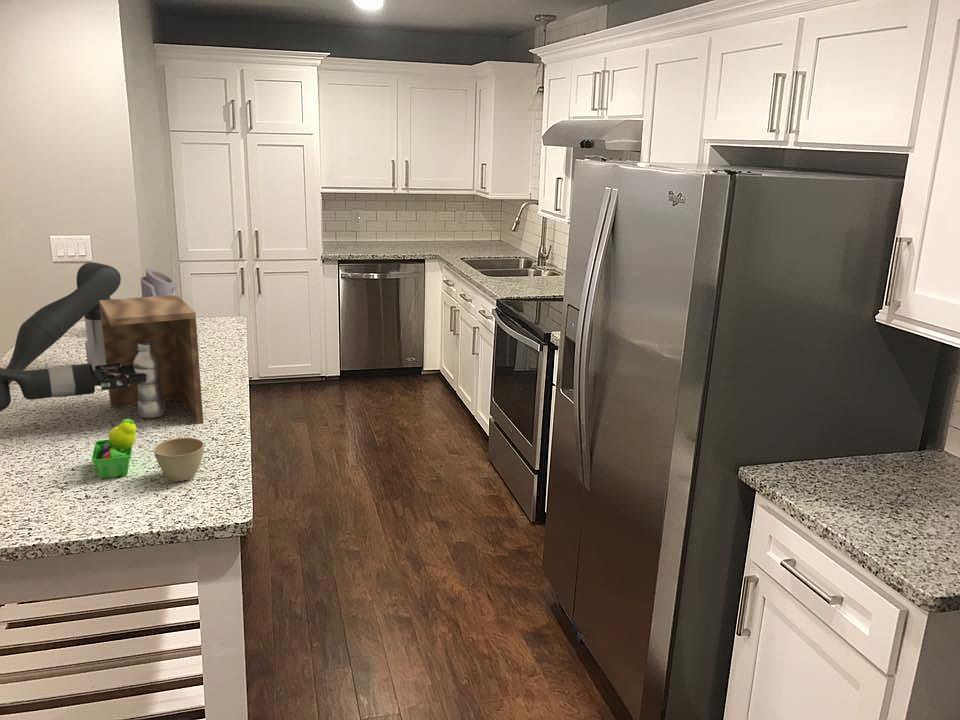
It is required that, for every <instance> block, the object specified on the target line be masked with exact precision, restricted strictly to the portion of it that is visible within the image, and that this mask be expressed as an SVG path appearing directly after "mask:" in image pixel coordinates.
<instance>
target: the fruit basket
mask: <svg viewBox="0 0 960 720" xmlns="http://www.w3.org/2000/svg"><path fill="white" fill-rule="evenodd" d="M134 422H135V421H134V420H132V419H130V418H124V419H123V420H121V422H120V423H119V424H118V425H117V426H114V428H112V429H111V430H110V431H109V432H108V439H102V440H97V441H95V443H94V448H93V452H92V455H91V462H92V464H93V465H94V466H95V469H96V471H97V474H98V476H99V478H100V479H101V478H105V479H110V478H109V477H114V478H119V477H118V476H120V477H127V476H128V473H129V467H130V461H131V458H132V452H133V451H132V450H133V445H134V444H135V443H136V440H137V439H136V438H137V433H136V432H137V426H136V424H135V423H134ZM126 475H127V476H126ZM106 477H108V478H106Z"/></svg>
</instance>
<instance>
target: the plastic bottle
mask: <svg viewBox="0 0 960 720" xmlns="http://www.w3.org/2000/svg"><path fill="white" fill-rule="evenodd" d="M137 345H138V348H137V350H139V352H138V354H137V355H136V356H135V358H134V360H133V367H134V370H135V374H139V373H145V374H146V382H141V383H138V384H137V385H138V404H137V405H136V406H137V408H136V409H137V412H138V415H139V416H140V417H141V418H142V419H143V418H145V419H155V418H159V417H162V416H163V415H164V414H165V412H166V410H165V409H166V404H165V401H164V400H163V397H162V392H161V387H160V367H161V366H160V365H161V361H160V359H159V357H158V356H157V355H156V354H155V352H154V351H153V349H154V347H153V341H140V342H138V343H137Z"/></svg>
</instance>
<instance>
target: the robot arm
mask: <svg viewBox="0 0 960 720" xmlns="http://www.w3.org/2000/svg"><path fill="white" fill-rule="evenodd" d="M121 278H122V277H121V274H120V271H118V269H116V268H115V267H113V266H110V265H107V264H104V263H98V262H93V261H91V262H86V263H84V264H82V265H81V266H80V267H79V269H78V270H77V273H76V289H75V290H73V291H72V292H71V293H69V294H67V295H66V296H63V297H62V298H59V299H57V300H55V301H52V302H50V303H48V304H46V305H45V306H43V307H41V308H40V309H38V310H37V311H36V312H34V313H33V314H32V315H31V316H30V317H29V318H27V319H26V320H25V321H23V323H22V324H21V325H20V327H19V329H18V332H17V335H16V340H15V344H14V349H13V353H12V355H11V357H10V361H9V363H8V364H7V366H6V368H3V367H0V412H1V411H5V410H6V409H7V408H8V407H9V406H10V404H11V399H12V398H11V390H10V384H12V383H13V382H15V383H17V384H18V386H19V388H20V391H21V393H22V395H23V397H24V399H26V400H29V401H30V400H31V401H32V400H33V401H34V400H40V399H41V400H42V399H48V398H66V397H74V396H75V397H76V396H77V397H78V396H83V395H91V394H92V395H93V394H95V392H96V388H95V387H100V389H101V390H102V391H109V389H119V388H128V385H130V384H133V383H141V382H146V374H145V373H139V374H133V373H135V370H134V367H133V365H122V364H121V365H120V363H114V364H106V360H105V350H104V341H103V332H102V322H101V313H100V304H99V300H111V299H112V298H111V296H112V295H114V293H116V291H118V289H119V287H120V285H121V281H122V279H121ZM82 318H84V323H85V324H84V325H85V331H86V333H85V334H86V341H85V342H84V343H85V344H84V345H85V354H86V361H87V363H80V364H79V363H78V364H70V365H60V366H59V365H58V366H55V367H50V368H41V369H29V370H25V369H27V367H28V366H30V364H32V363H33V362H34V361H35V360H36V359H37V358H38V357H40V356H41V355H42V354H43V353H45V351H47V350H48V349H50V348H51V347H52V346H53V345H54V344H55V343H57V341H58V340H60V338H62V337H63V336H64V335H65V334H66V333H67V332H68V331H69V330H71V328H72V327H74V326H75V325H76V324H77V323H78V322H79V321H80V320H81V319H82ZM111 369H112V370H111ZM125 374H130V375H125Z"/></svg>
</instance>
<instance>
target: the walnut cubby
mask: <svg viewBox="0 0 960 720" xmlns="http://www.w3.org/2000/svg"><path fill="white" fill-rule="evenodd" d="M111 299H112V298H111ZM99 304H100V313H101V322H102V332H103V341H104V350H105V360H106V364H114V363H120V365H121V364H122V365H133V360H134V358H135V356H136V355H137V354H138V352H139V350H137V348H138V345H137V343H138V342H140V341H153V347H154V349H153V351H154V352H155V354H156V355H157V356H158V357H159V359H160V361H161V365H160V366H161V367H160V387H161V392H162V397H163V400H164V402H167V401H168V402H169V401H175V400H181V402H182V404H183V405H184V406H185V408H186V409H187V411H188V412H189V414H190V415H191V417H192V418H193V420H194V421H195V422H196V424H197V425H199V424H204V414H203V399H202V398H203V396H202V385H201V372H200V371H201V370H200V357H199V343H198V342H199V341H198V329H197V328H198V326H197V316H196V311H195V310H193V308H191V306H190V305H188V304H187V303H186V302H185V301H184V300H183V299H182V298H181V297H180V296H179V295H178V294H176V295H169V296H155V297H142V296H141V297H130V298H127V297H126V298H116V299H115V298H113V299H112V300H99ZM111 370H112V369H111ZM133 374H135V373H133ZM125 375H130V374H125ZM137 384H138V383H133V384H130V385H128V388H119V389H109V390H108V396H109V404H110V405H109V406H110V409H115V408H114V407H117V408H122V407H121V406H124V407H130V406H129V405H132V406H137V404H138V385H137Z"/></svg>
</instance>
